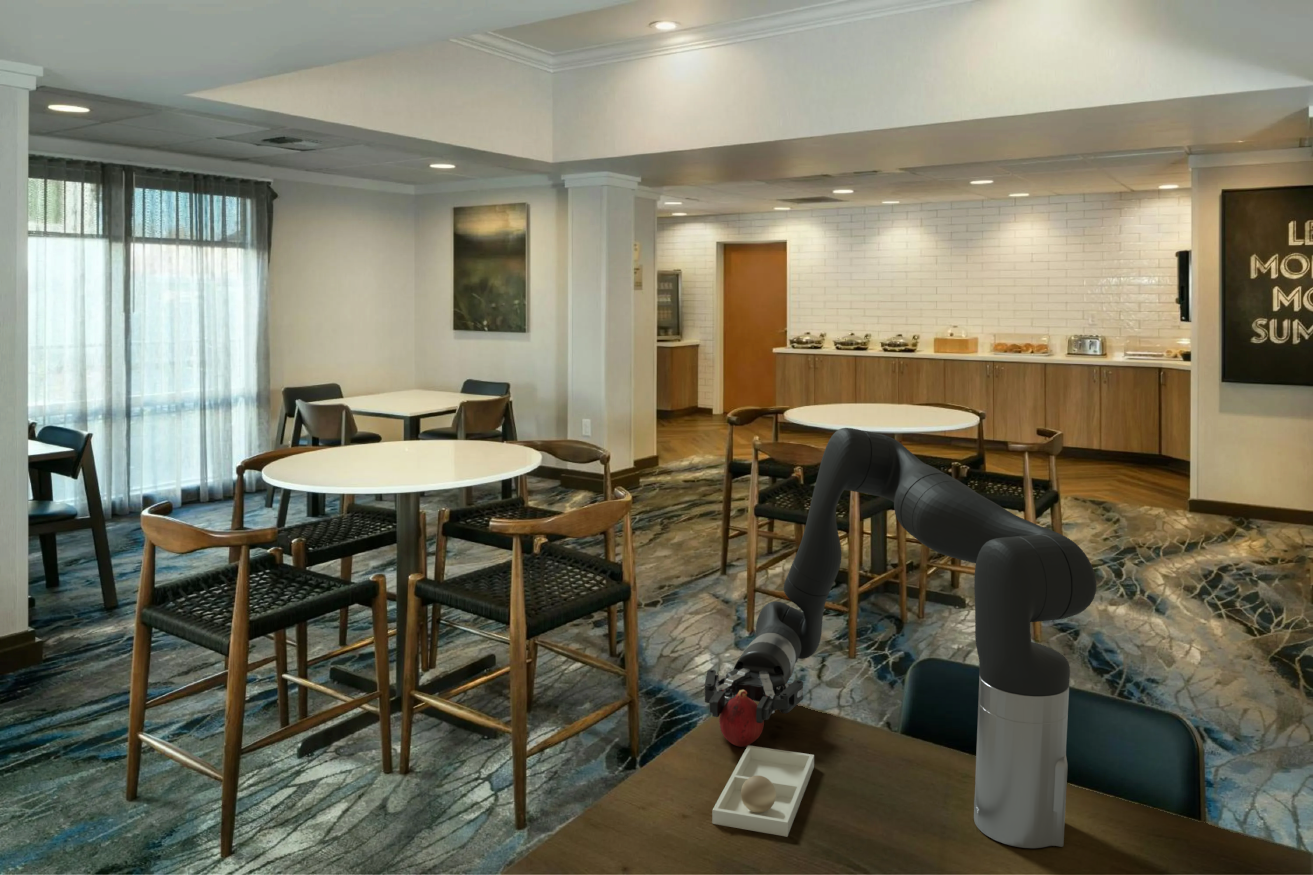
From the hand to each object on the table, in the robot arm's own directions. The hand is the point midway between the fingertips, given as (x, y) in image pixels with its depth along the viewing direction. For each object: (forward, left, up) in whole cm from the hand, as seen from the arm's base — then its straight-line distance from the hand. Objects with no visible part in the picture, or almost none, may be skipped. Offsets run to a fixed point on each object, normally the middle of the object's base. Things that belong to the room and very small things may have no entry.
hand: (737, 712), depth 123 cm
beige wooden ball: (-6, +13, -5) cm, 16 cm away
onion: (0, -3, -6) cm, 7 cm away
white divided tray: (-6, +9, -6) cm, 13 cm away
